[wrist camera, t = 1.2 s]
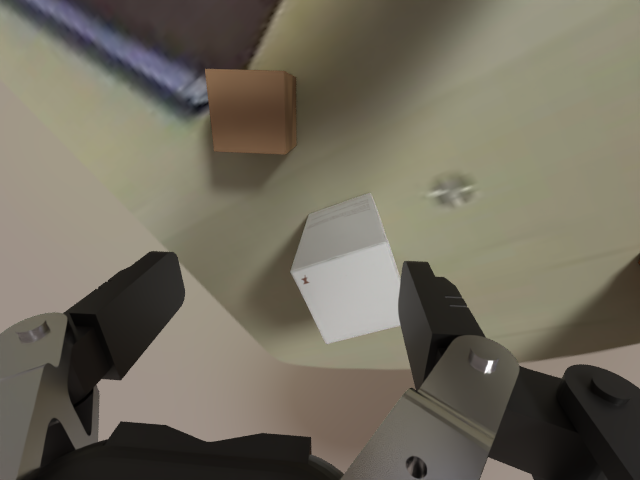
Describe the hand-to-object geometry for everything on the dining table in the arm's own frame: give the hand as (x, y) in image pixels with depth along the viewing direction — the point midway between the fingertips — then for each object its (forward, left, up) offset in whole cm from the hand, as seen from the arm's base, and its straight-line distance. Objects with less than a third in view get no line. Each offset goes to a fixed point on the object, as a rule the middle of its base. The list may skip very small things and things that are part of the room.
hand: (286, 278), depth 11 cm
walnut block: (-5, -6, -22) cm, 23 cm away
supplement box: (+7, +3, -22) cm, 24 cm away
